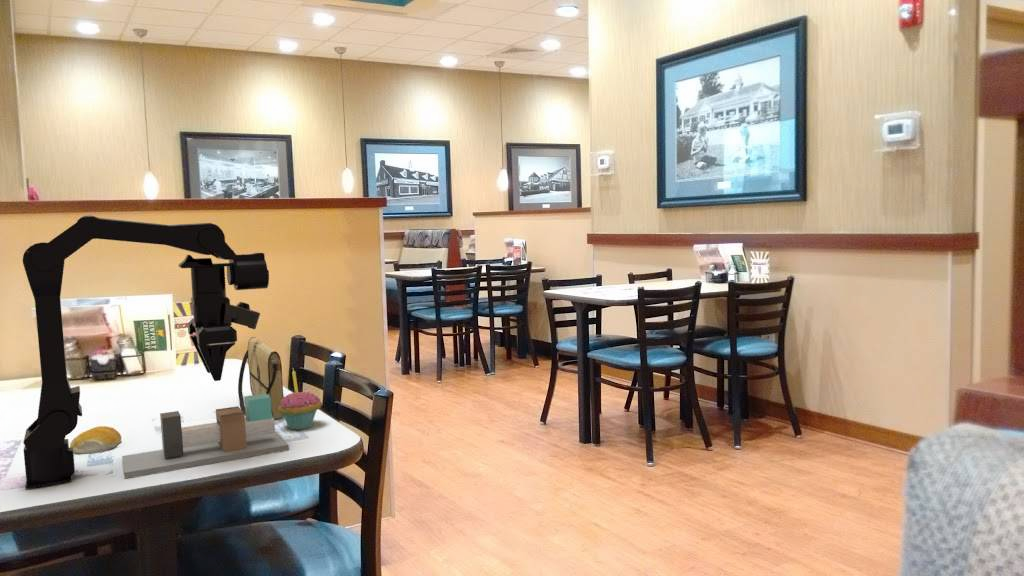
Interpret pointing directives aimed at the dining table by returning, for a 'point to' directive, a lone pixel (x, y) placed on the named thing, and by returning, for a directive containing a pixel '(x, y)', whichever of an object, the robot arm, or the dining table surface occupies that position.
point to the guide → (208, 448)
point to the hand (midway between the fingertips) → (213, 376)
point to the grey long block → (201, 433)
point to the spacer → (258, 407)
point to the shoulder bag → (263, 374)
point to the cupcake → (299, 407)
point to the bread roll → (96, 440)
